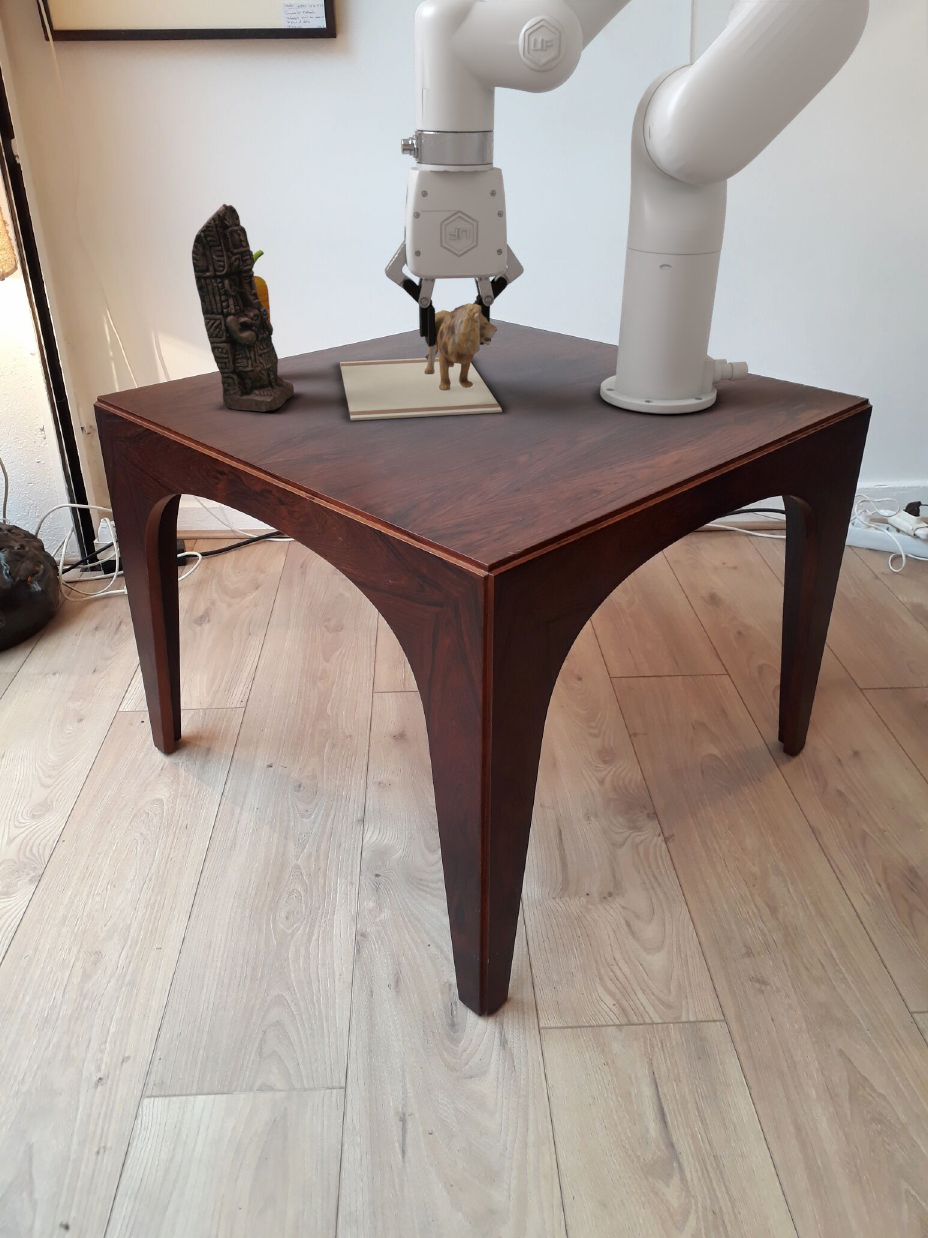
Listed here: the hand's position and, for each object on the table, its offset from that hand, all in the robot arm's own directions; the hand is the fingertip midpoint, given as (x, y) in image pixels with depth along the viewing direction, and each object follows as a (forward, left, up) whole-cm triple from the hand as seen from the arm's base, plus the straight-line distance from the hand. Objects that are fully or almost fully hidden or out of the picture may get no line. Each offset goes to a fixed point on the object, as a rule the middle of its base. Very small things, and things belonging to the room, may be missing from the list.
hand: (454, 340), depth 97 cm
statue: (+22, -2, -7) cm, 23 cm away
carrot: (+22, -12, -7) cm, 26 cm away
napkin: (+4, -5, -6) cm, 9 cm away
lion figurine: (0, 0, -4) cm, 4 cm away
